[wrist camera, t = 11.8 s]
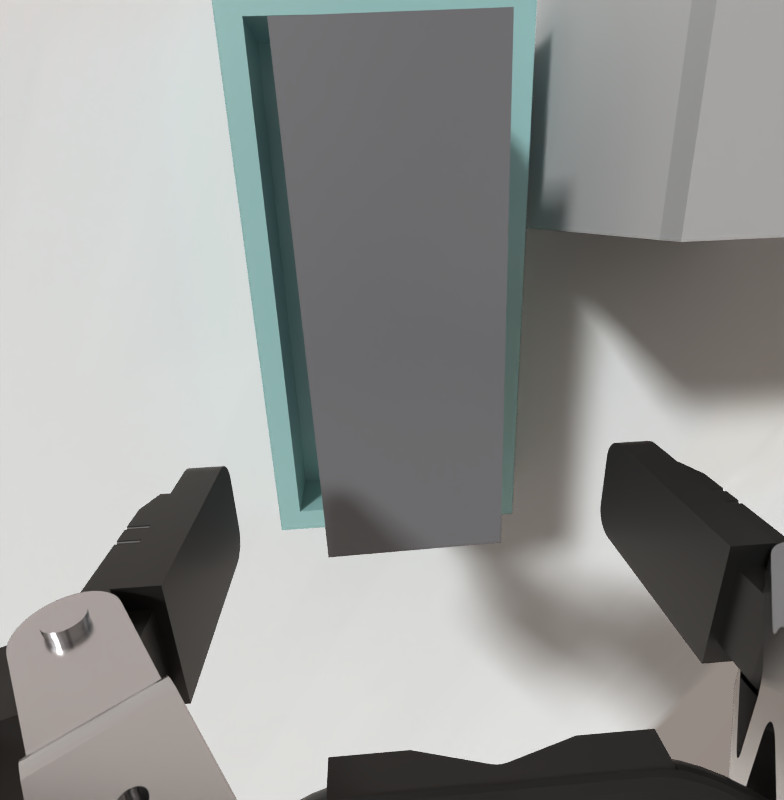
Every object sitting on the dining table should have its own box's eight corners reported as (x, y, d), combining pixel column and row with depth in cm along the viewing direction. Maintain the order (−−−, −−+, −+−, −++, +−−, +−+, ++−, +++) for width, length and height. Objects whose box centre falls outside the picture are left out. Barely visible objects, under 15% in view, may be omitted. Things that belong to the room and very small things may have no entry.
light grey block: (538, -41, 17) (770, -358, 8) (800, -46, 18) (1326, -349, 8) (526, 227, 20) (680, 242, 11) (750, 218, 21) (1092, 223, 11)
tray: (233, 21, 17) (209, -18, 14) (508, 14, 18) (538, -24, 15) (290, 491, 24) (282, 530, 21) (493, 477, 24) (511, 513, 21)
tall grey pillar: (304, 98, 18) (267, 16, 10) (447, 92, 18) (514, 7, 10) (338, 447, 22) (329, 565, 15) (452, 438, 23) (500, 551, 15)
